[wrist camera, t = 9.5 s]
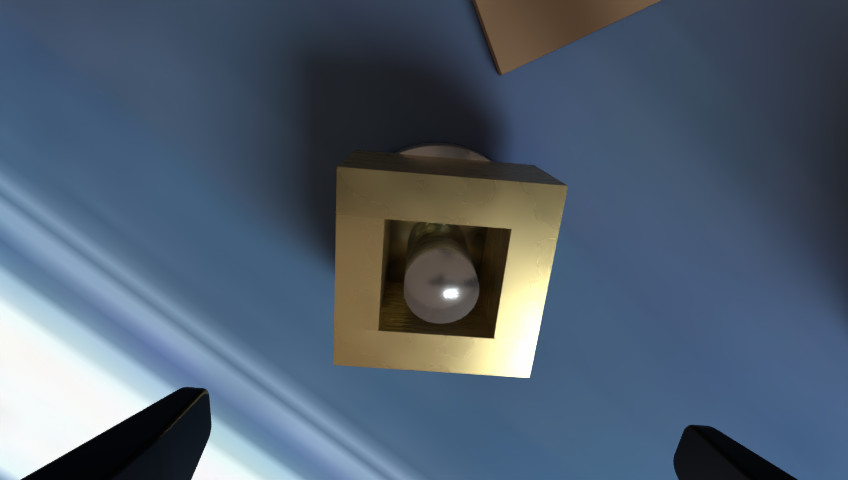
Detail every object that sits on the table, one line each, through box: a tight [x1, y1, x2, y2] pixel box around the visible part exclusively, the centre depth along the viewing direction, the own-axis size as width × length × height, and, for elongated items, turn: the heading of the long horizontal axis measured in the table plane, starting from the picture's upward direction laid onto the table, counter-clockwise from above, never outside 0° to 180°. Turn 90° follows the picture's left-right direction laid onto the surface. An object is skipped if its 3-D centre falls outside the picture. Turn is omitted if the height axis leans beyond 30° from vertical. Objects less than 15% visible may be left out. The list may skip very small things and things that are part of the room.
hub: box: [387, 142, 492, 324], centre depth 16 cm, size 8×8×6 cm
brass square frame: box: [334, 150, 568, 378], centre depth 16 cm, size 7×7×4 cm
